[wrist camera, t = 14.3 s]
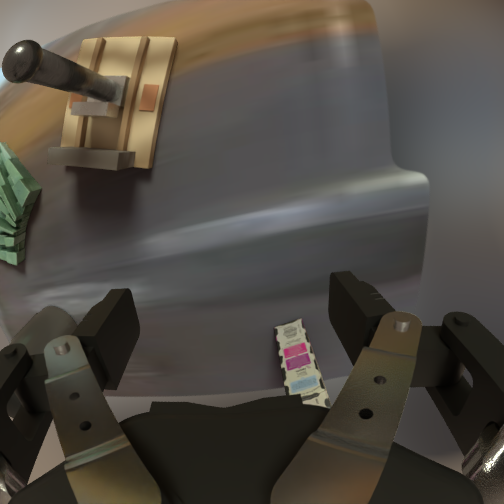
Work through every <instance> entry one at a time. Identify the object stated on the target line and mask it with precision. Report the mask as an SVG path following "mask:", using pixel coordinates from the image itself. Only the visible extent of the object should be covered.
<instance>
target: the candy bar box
mask: <svg viewBox="0 0 504 504" xmlns="http://www.w3.org/2000/svg"><path fill="white" fill-rule="evenodd" d="M274 331H275V336H276V342H277V347H278V353H279V358H280V363H281V369H282V375H283V381H284V386H285V392H286V395H293V394H301V397H302V401H303V404H311V405H318V406H323V407H326V408H330V409H331V407H332V406H331V403H330V399H329V396H328V394H327V391H326V387H325V384H324V381H323V378H322V375H321V373H320V370H319V367H318V364H317V361H316V358H315V355H314V352H313V349H312V346H311V343H310V340H309V338H308V335H307V332H306V329H305V327H304V324H303V321H302V318H300V319H297V320H294V321H292V322H289V323H286V324H283V325H279V326H277V327H274Z"/></svg>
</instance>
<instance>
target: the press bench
mask: <svg viewBox="0 0 504 504" xmlns="http://www.w3.org/2000/svg"><path fill="white" fill-rule="evenodd" d="M177 44H178V42H177V40H176V38H173V37H148V36H142V37H109V38H94V39H83V42H82V45H81V49H80V52H79V56H78V59H77V64H79V65H81V66H84V67H86V68H88V69H90V70H92V71H94V72H96V73H99V74H101V75H103V76H128V77H129V78H130V83H129V87H128V92H127V96H126V101H125V106H124V108H123V107H120V108H119V113H118V118H103V117H81V116H74V115H71V109H72V104H73V102H87V98H88V97H85V96H82V95H78V94H74V93H71V92H70V93H69V98H68V103H67V108H66V114H65V120H64V126H63V133H62V140H61V147H54V148H49V150H48V160H47V164H53V165H66V166H77V167H88V168H98V169H108V170H121V169H126V168H130V167H139V168H152V164H153V158H154V151H155V145H156V139H157V133H158V128H159V123H160V117H161V112H162V107H163V102H164V98H165V93H166V88H167V84H168V80H169V75H170V71H171V67H172V63H173V59H174V55H175V51H176V47H177Z"/></svg>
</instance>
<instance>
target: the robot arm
mask: <svg viewBox="0 0 504 504" xmlns="http://www.w3.org/2000/svg"><path fill="white" fill-rule="evenodd" d="M328 312H329V319H330V322H331V324H332V326H333V328H334V330H335V332H336V334H337V335H338V337H339V339H340V341H341V343H342V345H343V347H344V349H345V351H346V353H347V354H348V356H349V358H350V360H351V362H352V364H353V366H354V367H353V369H352V371H351V373H350V375H349V377H348V379H347V380H346V383H345V384H344V386H343V388H342V390H341V391H340V393H339V395H338V397H337V398H336V400H335V402H334V404H333V405H332V407H331V409H330V408H326V407H323V406H318V405H311V404H303V401H302V397H301V394H293V395H286V396H277V397H268V398H262V399H258V400H254V401H251V402H247V403H243V404H239V405H236V406H232V407H227V408H220V407H213V406H206V405H201V404H195V403H189V402H152V404H151V408H150V411H149V412H146V413H142V414H138V415H135V416H132V417H130V418H127V419H125V420H123V421H121V422H119V423H118V421H117V420H116V418H115V416H114V414H113V412H112V410H111V409H110V407H109V405H108V403H107V401H106V399H105V397H104V395H103V391H104V389H107V390H117V387H118V385H119V382H120V380H121V378H122V375H123V373H124V370H125V368H126V366H127V363H128V361H129V359H130V356H131V354H132V352H133V349H134V347H135V345H136V342H137V340H138V338H139V335H140V324H139V320H138V316H137V312H136V308H135V305H134V301H133V296H132V293H131V291H130V289H128V288H126V289H111V290H110V291H109V293H108V294H107V295H106V297H105V298H104V299H103V300H102V301H101V302H99V303H98V304H96V305H95V306H93V307H92V308H91V309H90V311H89V312H88V313H87V315H86V316H85V317H84V318H83V321H81V322H80V324H79V325H78V326H77V325H76V323H75V322H74V320H73V319H72V318H71V316H70V315H69V314H67V313H66V312H65V311H63V310H62V309H60V308H58V307H54V306H48V307H45V308H44V309H42V310H41V311H40V312H39V313H36V314H35V315H34V316H33V317H32V318H31V320H30V321H29V322H28V323H27V324H26V325H25V326H24V327H23V328H22V329H21V330H20V331H19V332H18V333H17V334H16V335H15V336H14V337H13V339H12V340H11V343H10V344H9V346H7V347H5V348H3V349H2V350H1V351H0V504H504V345H503V344H502V343H501V342H500V341H499V340H498V339H497V338H496V337H495V336H494V335H493V334H492V333H491V332H489V330H488V329H486V328H485V327H484V326H483V325H482V324H481V323H480V322H479V321H478V320H477V319H476V318H475V317H473V316H472V315H469V314H467V313H464V312H450V313H448V314H446V315H445V316H444V318H443V323H442V326H422V322H421V320H420V319H419V318H418V317H417V316H415V315H413V314H411V313H408V312H402V311H395V309H394V308H393V307H392V306H391V305H390V304H389V303H388V302H387V301H386V300H385V299H383V296H382V295H381V294H380V293H378V291H377V290H376V289H375V288H374V287H373V286H372V285H370V284H368V283H366V282H364V281H359V280H358V279H357V278H356V277H355V276H354V275H353V274H352V273H351V272H350V271H343V272H333V273H331V275H330V285H329V306H328ZM465 367H466V368H467V370H468V371H469V372H470V374H471V375H472V378H473V388H472V387H471V386H470V385H469V383H468V382H467V381H466V379H465V378H464V377H463V372H464V370H465ZM410 387H425V388H426V390H427V391H428V393H429V395H430V396H431V398H432V400H433V401H434V403H435V405H436V407H437V408H438V410H439V412H440V413H441V415H442V417H443V418H444V420H445V422H446V424H447V426H448V427H449V429H450V431H451V433H452V435H453V436H454V438H455V440H456V442H457V444H458V446H459V448H460V449H461V451H462V453H463V455H464V459H463V461H462V473H463V474H461V473H459V472H457V471H455V470H452V469H450V468H448V467H446V466H443V465H441V464H439V463H437V462H435V461H432V460H430V459H428V458H426V457H424V456H422V455H419V454H417V453H415V452H413V451H411V450H409V449H407V448H405V447H403V446H401V445H399V444H397V443H395V442H394V441H393V440H394V436H395V434H396V431H397V428H398V425H399V422H400V419H401V416H402V413H403V409H404V406H405V403H406V399H407V396H408V392H409V388H410ZM9 416H10V417H12V418H14V419H13V421H12V420H11V419H10V417H9ZM52 420H54V424H55V428H56V431H57V434H58V438H59V441H60V444H61V447H62V450H63V453H64V456H65V461H64V462H62V463H61V464H59V465H58V466H56V467H55V468H53V469H52V470H50V471H49V472H47V473H45V474H44V475H42V476H41V477H39V478H38V479H36V480H35V481H33V482H32V483H30V484H28V485H27V483H28V480H29V477H30V474H31V472H32V469H33V466H34V464H35V461H36V459H37V456H38V453H39V451H40V448H41V446H42V443H43V441H44V438H45V436H46V434H47V431H48V429H49V427H50V424H51V422H52Z"/></svg>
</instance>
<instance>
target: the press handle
mask: <svg viewBox="0 0 504 504" xmlns="http://www.w3.org/2000/svg"><path fill="white" fill-rule="evenodd" d="M2 72H3V75H4V77H5V78H6V79H7V80H8V81H10V82H12V83H23V82H30V83H34V84H39V85H43V86H47V87H51V88H55V89H59V90H63V91H67V92H71V93H74V94H78V95H82V96H85V97H88V98H87V102H73V104H72V109H71V115H74V116H81V117H103V118H118V113H119V108H120V107H123V108H124V106H125V101H126V96H127V92H128V87H129V83H130V78H129V77H128V76H103V75H101V74H99V73H96V72H94V71H92V70H90V69H88V68H86V67H84V66H81V65H79V64H77V63H75V62H73V61H70V60H68V59H66V58H64V57H61V56H59V55H57V54H54V53H52V52H50V51H47V50H45V49H42V48H41V46H40V45H39V44H38V43H37V42H35V41H33V40H23V41H20V42H18V43H16V44H15V45H13V46H12V47H11V48H10V49H9V50H8V51H7V53H6V55H5V57H4V59H3V63H2Z"/></svg>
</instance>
